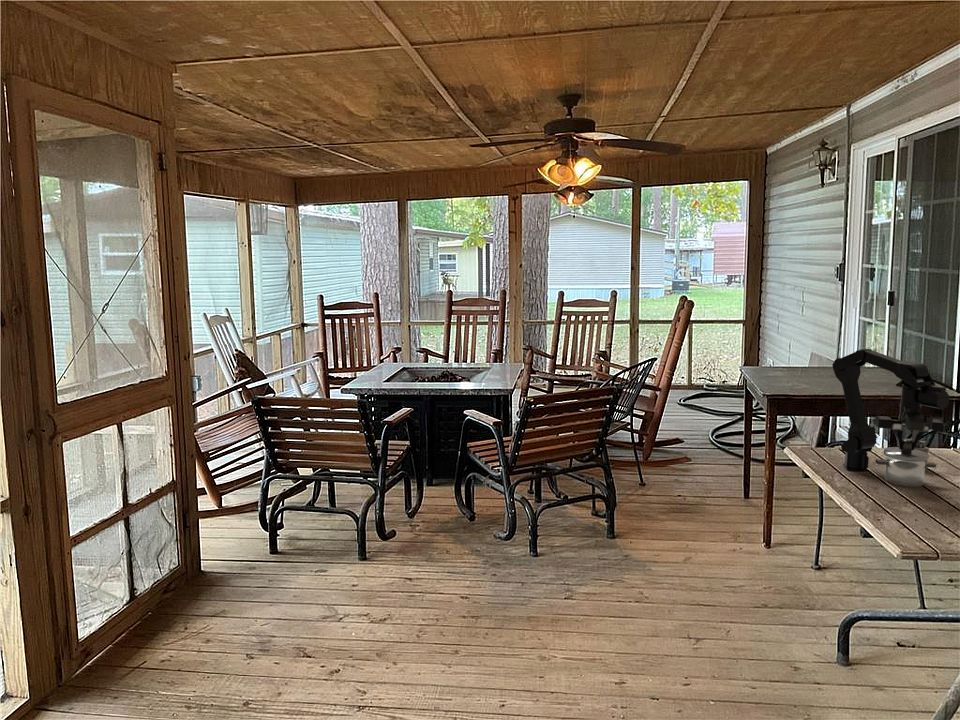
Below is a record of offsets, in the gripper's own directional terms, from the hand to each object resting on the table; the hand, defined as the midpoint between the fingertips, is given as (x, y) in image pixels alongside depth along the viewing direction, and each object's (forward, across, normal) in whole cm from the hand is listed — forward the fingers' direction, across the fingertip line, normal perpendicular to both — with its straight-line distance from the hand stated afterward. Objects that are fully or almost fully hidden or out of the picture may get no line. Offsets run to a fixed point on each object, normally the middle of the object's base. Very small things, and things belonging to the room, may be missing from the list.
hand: (906, 449), depth 224 cm
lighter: (+12, +9, +21) cm, 26 cm away
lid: (+2, 0, 0) cm, 2 cm away
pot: (+12, +1, +4) cm, 12 cm away
